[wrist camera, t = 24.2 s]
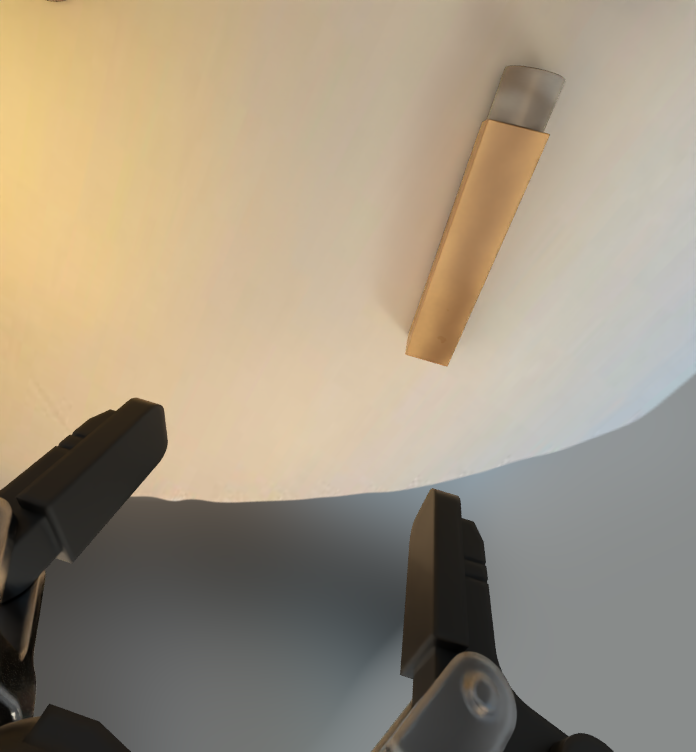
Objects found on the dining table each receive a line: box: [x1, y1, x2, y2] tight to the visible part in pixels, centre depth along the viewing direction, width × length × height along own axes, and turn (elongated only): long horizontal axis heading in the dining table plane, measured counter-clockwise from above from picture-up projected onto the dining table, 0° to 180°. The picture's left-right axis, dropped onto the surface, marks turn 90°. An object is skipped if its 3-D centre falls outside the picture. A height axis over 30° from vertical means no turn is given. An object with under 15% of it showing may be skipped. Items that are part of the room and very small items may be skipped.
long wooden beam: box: [405, 66, 565, 366], centre depth 31 cm, size 4×22×4 cm, turn 168°
